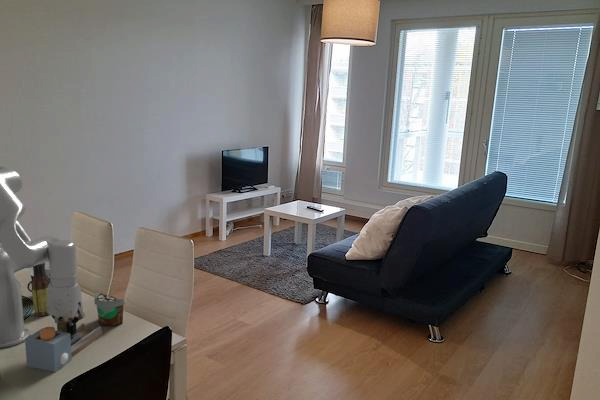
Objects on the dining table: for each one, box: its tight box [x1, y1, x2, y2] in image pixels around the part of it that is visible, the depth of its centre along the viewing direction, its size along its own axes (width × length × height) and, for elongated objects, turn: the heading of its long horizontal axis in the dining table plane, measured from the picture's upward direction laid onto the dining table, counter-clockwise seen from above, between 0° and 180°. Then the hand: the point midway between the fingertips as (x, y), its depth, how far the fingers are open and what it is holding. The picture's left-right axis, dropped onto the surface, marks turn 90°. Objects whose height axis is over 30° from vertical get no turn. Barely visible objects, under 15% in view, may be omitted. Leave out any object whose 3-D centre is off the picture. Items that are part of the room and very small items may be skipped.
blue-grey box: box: [24, 327, 73, 373], centre depth 146 cm, size 10×7×9 cm
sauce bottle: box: [30, 262, 50, 317], centre depth 177 cm, size 7×6×20 cm
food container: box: [93, 290, 126, 328], centre depth 172 cm, size 12×6×10 cm, turn 62°
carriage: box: [58, 318, 81, 346], centre depth 154 cm, size 5×6×9 cm
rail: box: [71, 323, 103, 358], centre depth 158 cm, size 8×17×3 cm, turn 166°
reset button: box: [39, 326, 56, 341], centre depth 146 cm, size 4×4×4 cm
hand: (67, 333), depth 154 cm, fingers closed on carriage, 3 cm apart
